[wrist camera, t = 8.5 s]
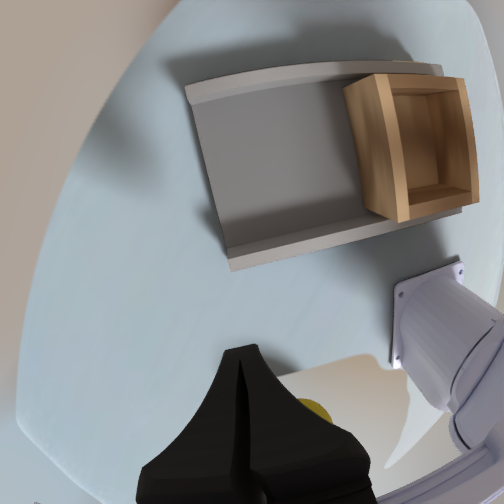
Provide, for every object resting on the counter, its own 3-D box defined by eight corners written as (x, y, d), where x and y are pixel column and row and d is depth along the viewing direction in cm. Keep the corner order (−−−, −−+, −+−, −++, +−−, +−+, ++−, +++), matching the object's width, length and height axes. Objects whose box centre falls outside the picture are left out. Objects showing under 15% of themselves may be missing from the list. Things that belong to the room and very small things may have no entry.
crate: (445, 189, 19) (484, 200, 15) (364, 207, 19) (398, 223, 15) (430, 86, 16) (469, 79, 12) (342, 88, 16) (374, 73, 12)
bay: (438, 211, 21) (461, 220, 18) (231, 263, 20) (233, 281, 18) (416, 64, 17) (439, 57, 14) (188, 88, 16) (182, 76, 14)
